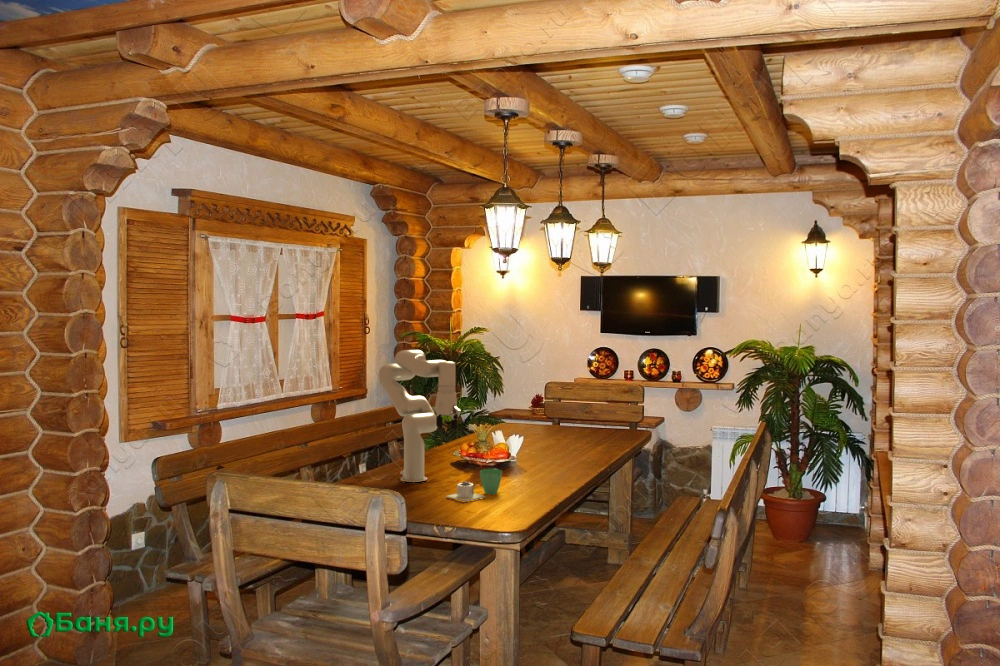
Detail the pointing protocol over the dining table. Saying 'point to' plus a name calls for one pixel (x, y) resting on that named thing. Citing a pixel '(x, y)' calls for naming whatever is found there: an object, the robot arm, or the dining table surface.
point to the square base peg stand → (476, 496)
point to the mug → (490, 480)
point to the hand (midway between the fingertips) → (446, 427)
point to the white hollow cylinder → (465, 490)
